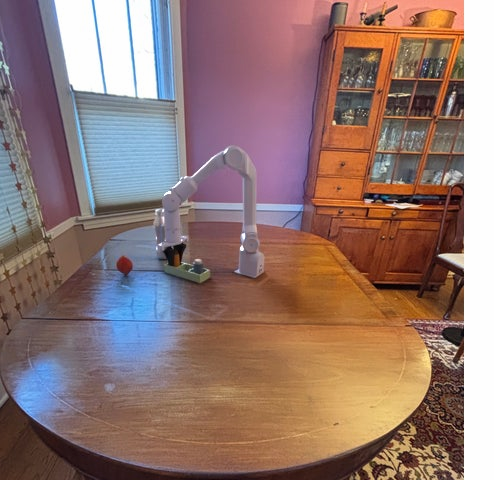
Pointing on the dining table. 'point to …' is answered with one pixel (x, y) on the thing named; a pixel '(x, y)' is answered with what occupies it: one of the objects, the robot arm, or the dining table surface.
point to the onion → (124, 265)
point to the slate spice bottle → (198, 266)
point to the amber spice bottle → (176, 259)
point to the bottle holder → (187, 272)
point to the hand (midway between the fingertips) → (175, 264)
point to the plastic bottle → (159, 231)
